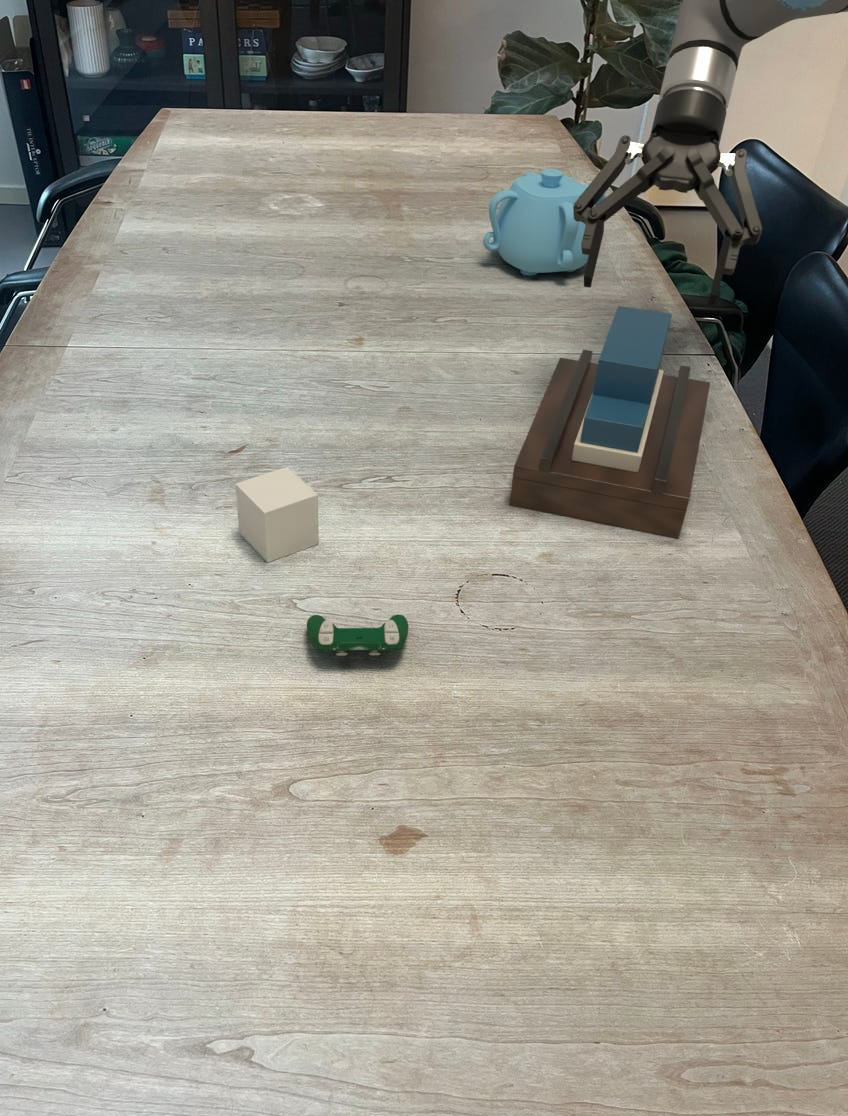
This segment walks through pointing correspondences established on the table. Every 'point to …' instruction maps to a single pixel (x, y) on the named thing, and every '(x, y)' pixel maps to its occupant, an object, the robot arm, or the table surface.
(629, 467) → the trainer
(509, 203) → the decorative pot
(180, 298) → the table surface
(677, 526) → the shoe shelf
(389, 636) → the gaming controller
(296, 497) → the beige cube
